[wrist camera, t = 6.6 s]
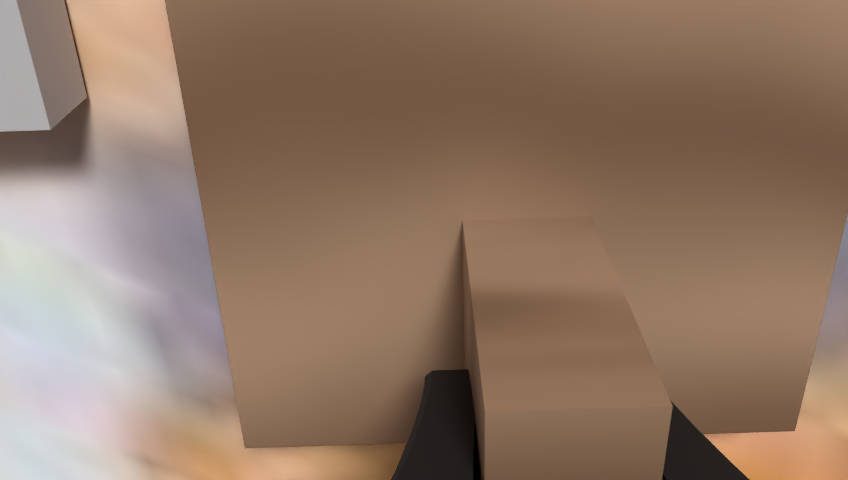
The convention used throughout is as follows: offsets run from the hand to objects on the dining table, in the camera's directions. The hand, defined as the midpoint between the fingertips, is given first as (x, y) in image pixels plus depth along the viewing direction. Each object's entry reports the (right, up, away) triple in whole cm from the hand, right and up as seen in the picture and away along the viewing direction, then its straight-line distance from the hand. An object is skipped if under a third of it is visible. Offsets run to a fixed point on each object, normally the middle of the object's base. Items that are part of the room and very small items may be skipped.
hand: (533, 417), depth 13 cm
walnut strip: (0, +10, -2) cm, 11 cm away
